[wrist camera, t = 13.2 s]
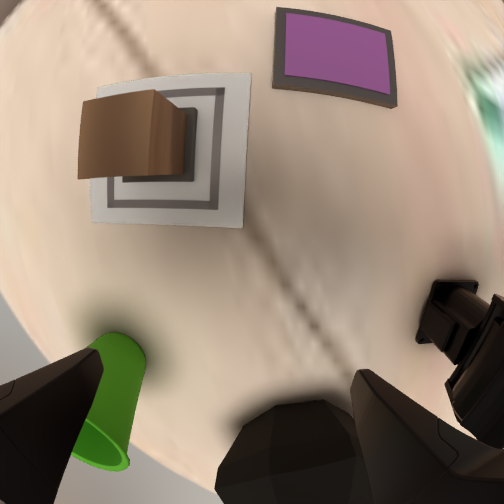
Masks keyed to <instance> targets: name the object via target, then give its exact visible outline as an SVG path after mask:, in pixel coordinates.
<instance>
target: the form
mask: <svg viewBox="0 0 504 504" xmlns="http://www.w3.org/2000/svg"><path fill="white" fill-rule="evenodd" d="M250 87H251V73H199V74H183V75H171V76H162V77H153V78H146V79H139V80H133V81H127V82H122V83H116V84H111V85H107V86H102V87H98V88H97V95H96V99H97V98H102V97H107V96H112V95H117V94H123V93H129V92H135V91H143V90H150V89H155V90H156V91H158V92H159V93H160V94H161V95H163V96H164V97H165V98H167V99H168V100H169V101H170V102H172V103H173V104H174V105H175V106H177V107H178V108H187V107H195V108H196V109H197V110H198V116H197V130H196V146H195V166H194V181H193V182H129V183H122V176H121V177H103V178H90V202H91V223H116V224H152V225H180V226H203V227H225V228H243V209H244V190H245V171H246V153H247V135H248V119H249V102H250Z"/></svg>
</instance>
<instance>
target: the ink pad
mask: <svg viewBox="0 0 504 504" xmlns="http://www.w3.org/2000/svg"><path fill="white" fill-rule="evenodd" d="M272 88H275V89H287V90H296V91H305V92H312V93H319V94H326V95H332V96H338V97H343V98H348V99H353V100H358V101H362V102H367V103H371V104H375V105H379V106H383V107H387V108H391V109H392V108H394V107H397V85H396V71H395V60H394V50H393V42H392V35H391V31H390V30H387V29H384V28H381V27H377V26H374V25H371V24H367V23H364V22H360V21H356V20H352V19H348V18H344V17H340V16H335V15H330V14H325V13H319V12H313V11H307V10H300V9H291V8H281V7H276V17H275V42H274V65H273V86H272Z"/></svg>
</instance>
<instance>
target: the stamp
mask: <svg viewBox="0 0 504 504" xmlns="http://www.w3.org/2000/svg"><path fill="white" fill-rule="evenodd" d="M197 116H198V110H197V109H196V108H195V107H187V108H178V107H177V106H175V105H174V104H173V103H172V102H170V101H169V100H168V99H167V98H165V97H164V96H163V95H161V94H160V93H159V92H158V91H156V90H155V89H150V90H143V91H135V92H129V93H123V94H117V95H112V96H107V97H102V98H97V99H92V100H88V101H84V102H83V107H82V115H81V124H80V136H79V151H78V179H89V178H103V177H121V176H122V183H129V182H193V181H194V166H195V146H196V130H197Z"/></svg>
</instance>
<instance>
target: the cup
mask: <svg viewBox="0 0 504 504" xmlns="http://www.w3.org/2000/svg"><path fill="white" fill-rule="evenodd" d="M88 347H90V348H95V349H97V350H98V351H99V353H100V356H101V359H102V363H103V366H104V372H103V375H102V378H101V381H100V384H99V387H98V390H97V393H96V396H95V399H94V401H93V404H92V407H91V409H90V411H89V413H88V416H87V418H86V420H85V422H84V425H83V427H82V429H81V431H80V434H79V436H78V439H77V441H76V443H75V446H74V448H73V451H72V453H71V455H72V456H74V457H76V458H77V459H79V460H81V461H83V462H85V463H87V464H89V465H92V466H94V467H97V468H100V469H104V470H108V471H122V470H125V469H126V468H127V467H128V466H129V465H130V459H129V458H128V455H127V450H128V444H129V439H130V434H131V429H132V424H133V419H134V415H135V410H136V406H137V401H138V397H139V392H140V388H141V384H142V380H143V376H144V372H145V368H146V362H145V356H144V353H143V351H142V350H141V348H140V347H139V346H138V344H137V343H136V342H135V341H133V340H132V339H131V338H129V337H127V336H126V335H123V334H120V333H108V334H105V335H102V336H101V337H100V338H98V339H97V340H96V341H94V342H93V343H92V344H90V345H89V346H88ZM86 348H87V347H86Z"/></svg>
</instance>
